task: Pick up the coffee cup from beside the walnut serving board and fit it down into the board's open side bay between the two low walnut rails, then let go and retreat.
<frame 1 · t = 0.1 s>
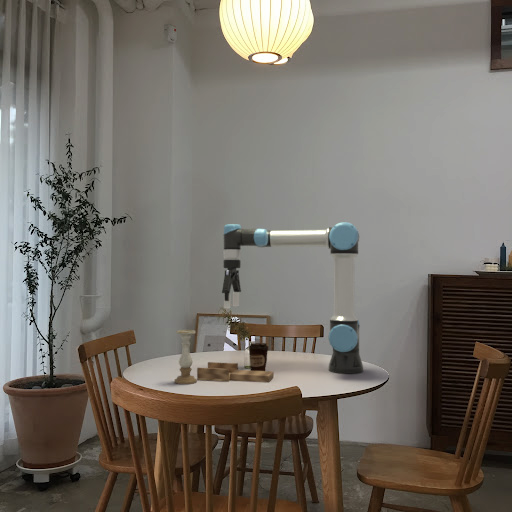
hand: (231, 307, 255), 28 cm above the table, fingers open, 13 cm apart
candle holder: (185, 382, 229), on the table
coffee cup: (258, 374, 248), on the table
board: (252, 378, 236), on the table
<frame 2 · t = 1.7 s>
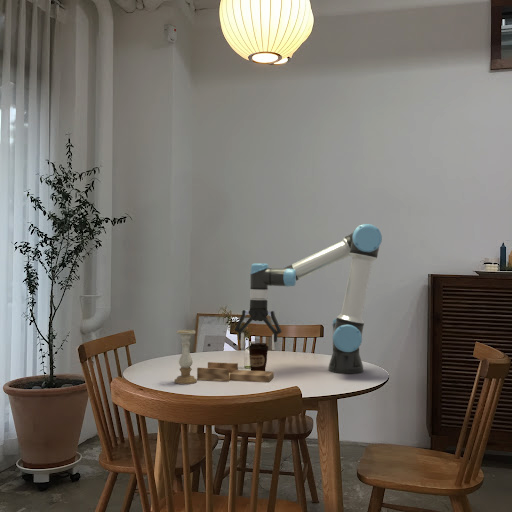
hand: (257, 348, 248), 11 cm above the table, fingers open, 13 cm apart
nothing on the table moved.
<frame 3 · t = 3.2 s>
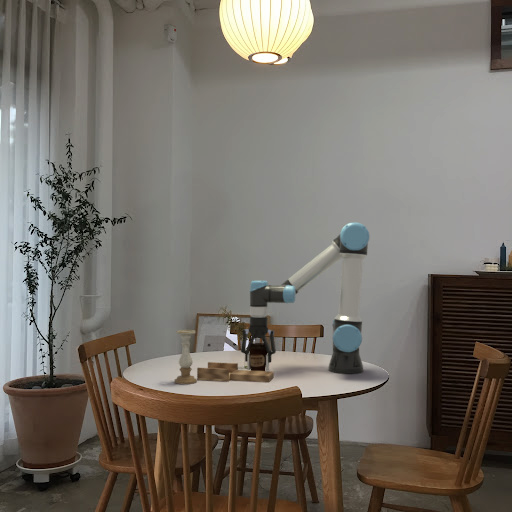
hand: (258, 369, 248), 2 cm above the table, fingers closed on coffee cup, 7 cm apart
coffee cup: (258, 374, 248), on the table, touching gripper
everything else where it was.
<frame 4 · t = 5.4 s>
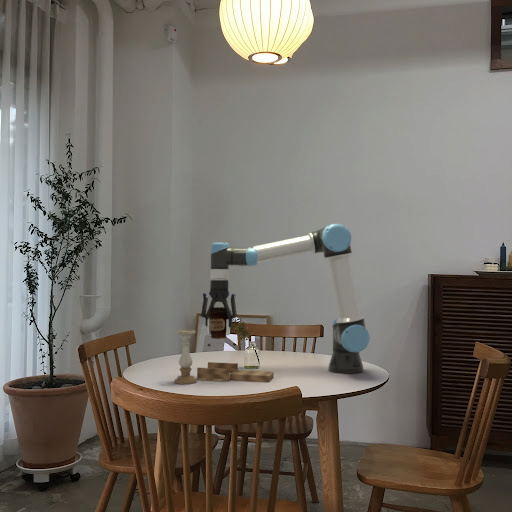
hand: (218, 334, 240), 18 cm above the table, fingers closed on coffee cup, 7 cm apart
coffee cup: (218, 339, 240), point 16 cm above the table, touching gripper
everything else where it was.
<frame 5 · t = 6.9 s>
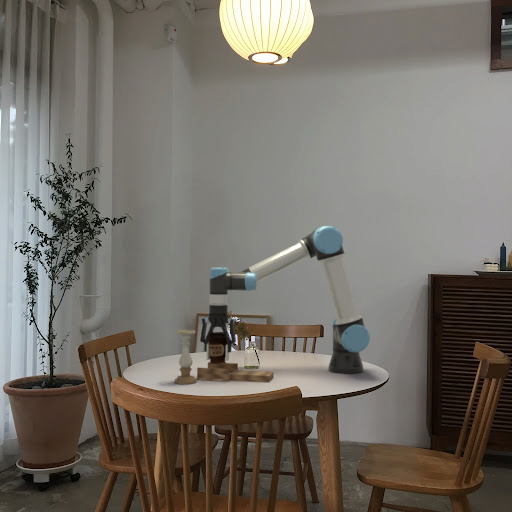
hand: (217, 359, 239), 7 cm above the table, fingers closed on coffee cup, 7 cm apart
coffee cup: (217, 364, 239), point 5 cm above the table, touching gripper
everything else where it was.
when the fingers open (4 cm above the table, at t = 7.8 s): coffee cup drops 2 cm, resting on board.
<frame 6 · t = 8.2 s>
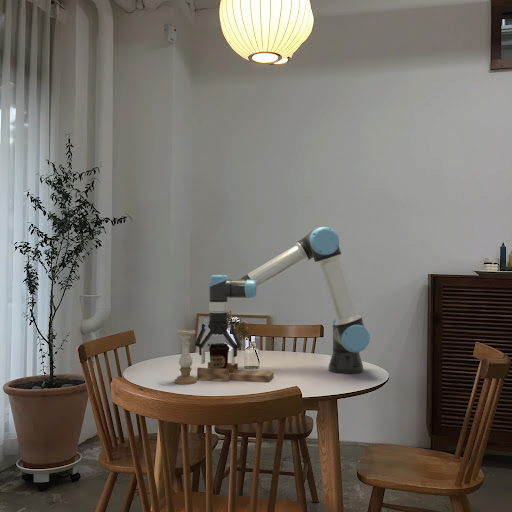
hand: (218, 364, 239), 5 cm above the table, fingers open, 12 cm apart
coffee cup: (219, 375, 239), point 1 cm above the table, touching board
everything else where it was.
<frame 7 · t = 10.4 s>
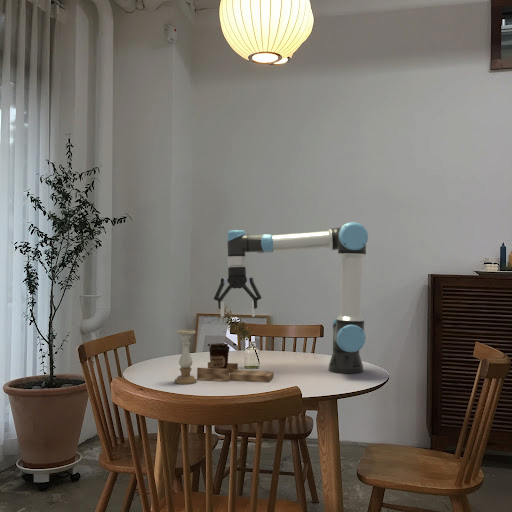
hand: (238, 316, 245), 25 cm above the table, fingers open, 13 cm apart
nothing on the table moved.
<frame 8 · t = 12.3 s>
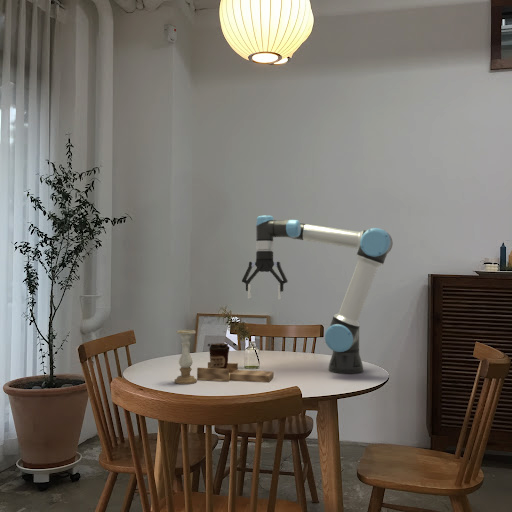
hand: (264, 298, 255), 32 cm above the table, fingers open, 13 cm apart
nothing on the table moved.
at the end: coffee cup inside the target area on the board (0.5 cm from its centre), point 0.6 cm above the board's base; coffee cup tilted 0°; the gripper is holding nothing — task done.
